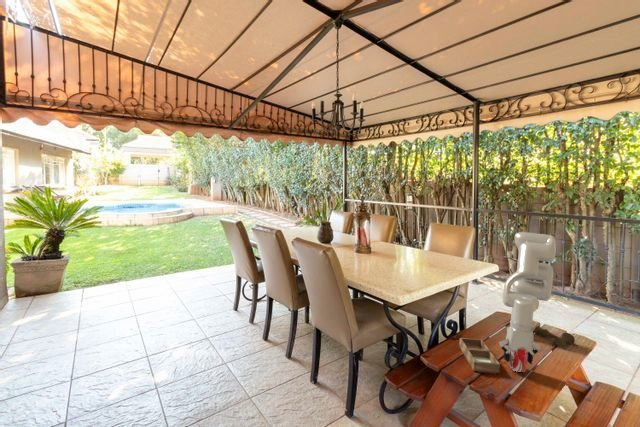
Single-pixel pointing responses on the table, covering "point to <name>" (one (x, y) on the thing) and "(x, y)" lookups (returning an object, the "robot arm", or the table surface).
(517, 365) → the soda can
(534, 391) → the table surface
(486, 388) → the table surface
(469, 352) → the drinks caddy
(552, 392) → the table surface
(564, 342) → the kendama
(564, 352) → the table surface
